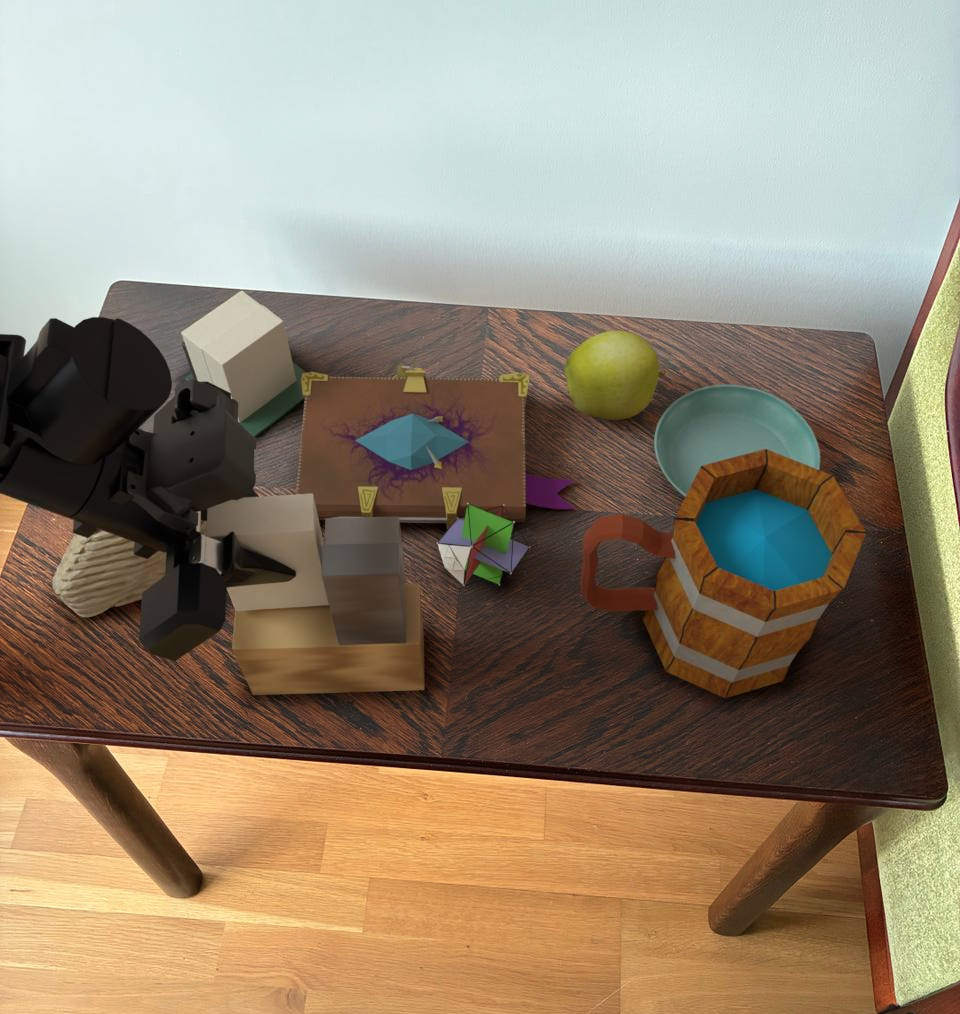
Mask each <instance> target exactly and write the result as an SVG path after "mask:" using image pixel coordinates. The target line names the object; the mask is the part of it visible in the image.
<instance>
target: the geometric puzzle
mask: <svg viewBox="0 0 960 1014" xmlns="http://www.w3.org/2000/svg"><path fill="white" fill-rule="evenodd" d="M480 505H485V504H480ZM466 506H467V510H466V515H465V516H463V517H465V520H461V519H460V518H463V517H460V516H459V517H460V518H459V517H458V518H456V519H457V520H456V521H455V522H453V523H454V524H453V523H452V524H453V525H452V526H450V527H449V530H448V531H447V530H446V531H445V533H444V534H443V535H442V536H441V538H439V540H438V541H437V542H436V545H437V548H438V551H439V554H440V557H441V561H442V564H443V567H444V569H445V570H446V571H447V572H448V573H449V574H450V575H451V576H452V577H453V578H455V579H456V580H457V581H458V582H459V583H460V584H461V585H462V586H463V587H465V586H467V587H470V586H473V585H474V584H476V583H480V582H483V581H489V582H490V583H491V582H492V583H493V584H495V585H497V586H501V584H502V583H503V582H504V581H505V580H506V579H507V578H508V577H510V575H512V574H513V572H514V570H515V569H516V567H517V566H518V565H519V563H520V562H521V560H522V559H523V557H524V556H525V555H526V553H527V552H528V550H529V549H531V546H530V545H529V544H528V542H527V541H526V539H525V537H524V536H523V534H522V532H521V531H520V530H519V527H518V526H517V524H516V522H515V521H513V520H512V521H510V520H508V519H505V518H503V517H502V513H503V508H505V507H504V506H505V505H501V506H499V507H502V506H503V507H502V508H501V509H500V511H499V512H498V513H497V515H495V514H493V513H490V512H488V510H491V509H488V510H483V509H480V508H478V507H475V506H473V505H470V504H469V503H467V505H466ZM499 507H496V508H499ZM465 508H466V507H465ZM465 508H464V509H465ZM464 509H463V510H462V512H463V511H464ZM492 509H495V508H492ZM505 509H506V508H505ZM506 511H507V510H506ZM461 514H462V513H460V514H459V515H461ZM508 514H509V513H508ZM509 516H510V515H509ZM510 517H511V516H510ZM511 519H512V518H511ZM515 527H516V528H517V531H518V532H519V533H520V535H521V536H522V538H523V540H524V542H525V543H526V544H524V543H521V542H519V541H516V540H514V534H515V533H514V531H515ZM511 537H512V539H511ZM503 571H504V572H507V573H506V574H503ZM473 575H474V576H477V577H480V578H482V579H483V580H479V581H476V582H471V583H468V584H467V582H468V581H469V579H471V577H472V576H473ZM503 576H504V577H503ZM502 577H503V578H502ZM501 579H502V580H501Z"/></svg>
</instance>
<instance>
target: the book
mask: <svg viewBox="0 0 960 1014" xmlns="http://www.w3.org/2000/svg"><path fill="white" fill-rule="evenodd" d="M301 382H302V391H303V397H304V398H305V400H304V401H303V402H304V403H303V413H302V423H301V424H302V425H301V434H300V446H299V455H298V465H297V466H298V467H297V477H296V487H295V495H297V494H313V495H314V500H315V505H316V509H317V514H318V519H319V521H325V519H326V518H363V517H399V519H400V524H401V523H404V524H405V523H407V524H410V523H412V524H445V525H446V531H448V530H449V527H450V526H452V525H453V524H454V523H453V522H455V521H456V520H457V519H456V518H458V517H459V516H460V517H463V516H465V515H466V510H467V506H466V505H467V503H469V504H470V505H473V506H475V507H478V508H480V509H483V510H488V509H491V510H488V512H490V513H493V514H495V515H497V513H498V512H499V511H500V509H501V508H502V507H503V506H502V507H499V506H501V505H505V506H504V507H505V508H506V509H505V508H503V513H502V517H503V518H505V519H508V520H510V521H512V520H513V521H515V523H526V518H527V517H526V516H527V505H529V506H534V507H539V508H543V509H551V510H576V508H575V507H574V506H572V505H571V504H570V503H569V502H567V500H565V498H562V496H560V495H559V494H558V493H559V492H561V491H562V490H564V489H565V488H566V487H567V486H568V485H570V484H571V483H572V482H574V479H567V478H566V479H565V478H549V477H541V476H538V475H533V474H529V473H526V470H527V469H526V414H525V413H526V405H527V399H528V392H529V387H530V374H528V373H523V372H512V373H507V374H500V375H499V378H467V377H465V378H463V377H460V378H458V377H427V376H426V370H423V368H422V367H411V366H408V365H404V364H403V363H402V362H400V364H399V365H398V366H397V370H396V374H395V375H394V376H393V377H385V376H384V377H380V376H379V377H378V376H376V377H375V376H367V377H366V376H360V377H359V376H329V375H328V374H326V373H325V374H324V373H320V372H315V371H309V372H306V373H302V378H301ZM480 504H485V505H480ZM465 507H466V508H465ZM496 507H499V508H496ZM464 508H465V509H464ZM492 508H495V509H492ZM463 509H464V511H463V512H462V510H463ZM506 510H507V511H506ZM460 513H462V514H461V515H459V514H460ZM508 513H509V514H508ZM509 515H510V516H511V517H510V516H509ZM460 517H459V518H460ZM511 518H512V519H511ZM460 519H461V520H465V517H463V518H460ZM452 523H453V524H452Z"/></svg>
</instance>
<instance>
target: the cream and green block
mask: <svg viewBox="0 0 960 1014" xmlns="http://www.w3.org/2000/svg"><path fill="white" fill-rule="evenodd" d="M180 333H181V337H182V339H183V342H181V346H182V348H183V352H184V355H185V357H186V360H187V363H188V366H189V369H190V371H191V373H189V374H188V375H186V376H185V377H184V380H185V382H186V381H188V380H191V379H194V380H197V381H199V382H200V381H207V382H210V383H211V384H213V385H215V386H217V387H219V388H221V389H223V390H225V391H227V392H229V393H231V399H234V400H236V401H237V402H238V422H239V423H240V424H241V425H242V426H243V427H244V428H245V429H247V430H248V431H249V432H250V433H251V434H252V435H253V436H254V437H255V438H257V437H258V436H259V435H261V434H263V432H265V431H266V430H267V429H269V428H270V427H271V426H273V425H274V424H275V423H277V422H278V421H279V420H281V419H283V417H284V416H285V415H287V414H289V413H290V412H292V410H294V409H295V408H297V406H299V405H300V404H301V403H303V402H304V401H305V398H304V397H303V391H302V382H301V378H302V373H307V372H306V371H305V370H303V369H302V368H301V367H300V366H299V365H297V364H296V363H295V362H293V358H292V354H291V350H290V344H289V341H288V336H287V330H286V327H285V323H284V320H283V319H282V318H280V317H279V316H277V315H276V314H275V313H274V312H272V311H271V310H270V309H269V308H267V307H266V306H265V305H263V304H260V303H259V302H258V301H256V299H254V298H253V297H251V296H250V295H248V293H246V292H245V291H244V290H240V291H238V292H237V293H235V294H234V295H233V296H232V297H230V298H229V299H227V300H226V301H224V302H223V303H222V304H220V305H218V306H217V307H215V308H214V309H213V310H211V311H209V312H208V313H207V314H206V315H204V316H202V317H201V318H200V319H198V320H197V321H195V322H194V323H193V324H191V325H189V326H188V327H186V328H185V329H183V330H182V331H181V332H180Z"/></svg>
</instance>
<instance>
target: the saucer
mask: <svg viewBox="0 0 960 1014" xmlns="http://www.w3.org/2000/svg"><path fill="white" fill-rule="evenodd" d="M653 446H654V448H653V449H654V453H655V457H656V461H657V463H658V465H659V468H660V470H661V471H662V473H663V475H664V476H665V478H666V479H667V481H668V482H669V483H670V484H671V486H672V487H673V488H674V489H675V490H676V491H677V492H678V493H679V494H680V495H681V496H682V497H684V498H685V497H686V495H687V493H688V491H689V489H690V487H691V485H692V483H693V481H694V479H695V477H696V475H697V473H698V471H699V469H700V467H701V466H703V465H707V464H710V463H714V462H718V461H722V460H726V459H729V458H733V457H737V456H741V455H744V454H748V453H752V452H756V451H760V450H763V449H767V450H770V451H772V452H775V453H777V454H780V455H782V456H785V457H788V458H790V459H793V460H795V461H798V462H800V463H803V464H805V465H808V466H810V467H813V468H815V469H818V470H820V468H821V451H820V447H819V446H820V445H819V442H818V440H817V437H816V434H815V433H814V431H813V429H812V428H811V426H810V425H809V423H808V422H807V420H806V418H804V417H803V415H801V413H800V412H798V411H797V410H796V409H795V408H794V407H793V406H792V405H790V404H789V403H787V402H786V401H785V400H783V399H782V398H779V397H778V396H776V395H773V394H771V393H769V392H767V391H764V390H761V389H758V388H755V387H751V386H747V385H742V384H726V383H725V384H713V385H707V386H703V387H699V388H696V389H694V390H691V391H689V392H686V393H685V394H683V395H682V396H680V397H678V398H677V399H676V400H674V401H673V402H672V403H671V404H670V405H669V406H668V407H667V408H666V409H665V410H664V412H663V413H662V415H661V416H660V418H659V420H658V422H657V424H656V428H655V432H654V440H653Z"/></svg>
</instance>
